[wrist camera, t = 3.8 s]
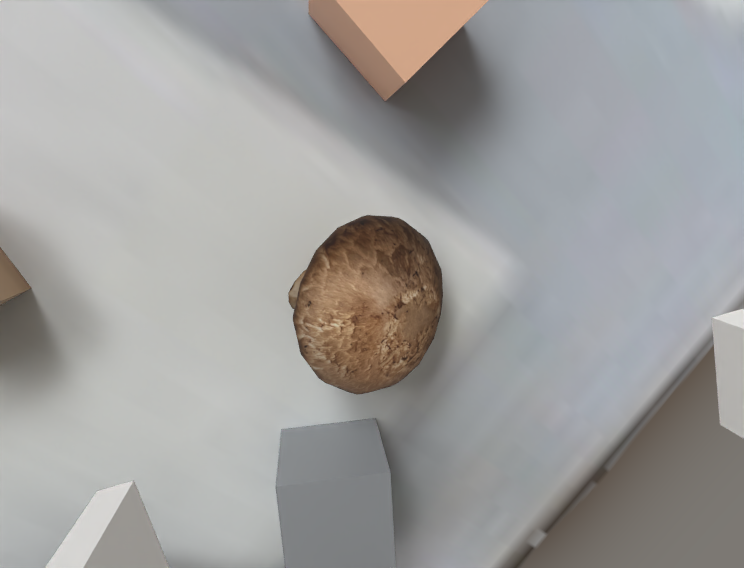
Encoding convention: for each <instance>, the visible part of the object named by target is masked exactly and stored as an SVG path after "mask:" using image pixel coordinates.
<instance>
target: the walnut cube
mask: <svg viewBox="0 0 744 568" xmlns="http://www.w3.org/2000/svg"><path fill="white" fill-rule="evenodd" d="M29 289H31V287H30V286H29V284H28V283H27V282H26V280H25V279H24V278H23V276H22V275H21V274H20V273H19V271H18V270H17V269H16V267H15V266H14V265H13V263H12V262H11V261H10V259H9V258H8V257H7V256H6V254H5V253H4V252H3V250H2V249H1V248H0V305H2V304H4V303H6V302H8V301H9V300H11V299H13V298H15V297H17V296H18V295H20V294H22V293H24V292H26V291H27V290H29Z"/></svg>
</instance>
